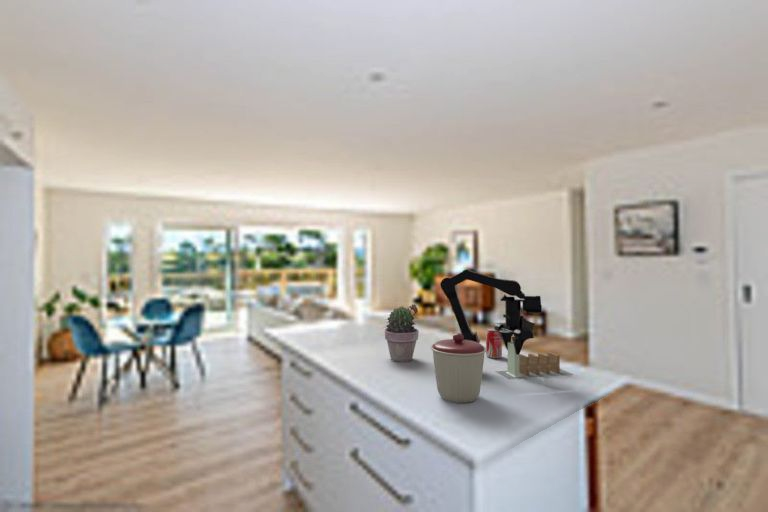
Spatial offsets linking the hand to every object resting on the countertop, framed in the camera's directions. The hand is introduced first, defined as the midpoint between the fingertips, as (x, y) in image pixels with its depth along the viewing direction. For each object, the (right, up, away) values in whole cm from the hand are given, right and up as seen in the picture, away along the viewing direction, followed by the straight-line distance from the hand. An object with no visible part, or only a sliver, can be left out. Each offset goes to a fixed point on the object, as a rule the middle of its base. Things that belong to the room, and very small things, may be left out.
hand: (513, 352), depth 145 cm
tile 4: (+13, -9, +3) cm, 16 cm away
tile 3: (+9, -9, +2) cm, 12 cm away
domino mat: (+9, -9, +2) cm, 13 cm away
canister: (-26, -9, -23) cm, 36 cm away
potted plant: (-44, -10, +24) cm, 51 cm away
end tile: (+18, -9, +4) cm, 20 cm away
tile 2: (+4, -9, +1) cm, 10 cm away
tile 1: (0, -9, 0) cm, 8 cm away
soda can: (+1, -10, +28) cm, 29 cm away
